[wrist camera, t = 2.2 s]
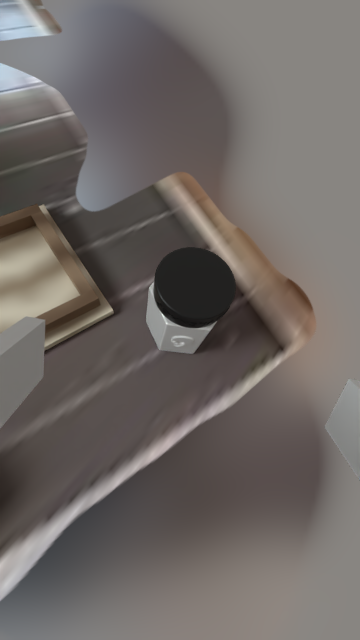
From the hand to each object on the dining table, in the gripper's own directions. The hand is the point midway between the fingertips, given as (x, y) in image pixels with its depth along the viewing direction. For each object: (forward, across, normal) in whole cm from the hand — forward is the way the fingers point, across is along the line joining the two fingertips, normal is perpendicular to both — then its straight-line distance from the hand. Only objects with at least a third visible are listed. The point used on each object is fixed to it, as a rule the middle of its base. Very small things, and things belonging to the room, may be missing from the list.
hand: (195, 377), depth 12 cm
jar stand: (+25, -22, -8) cm, 34 cm away
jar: (+25, +1, -8) cm, 26 cm away
